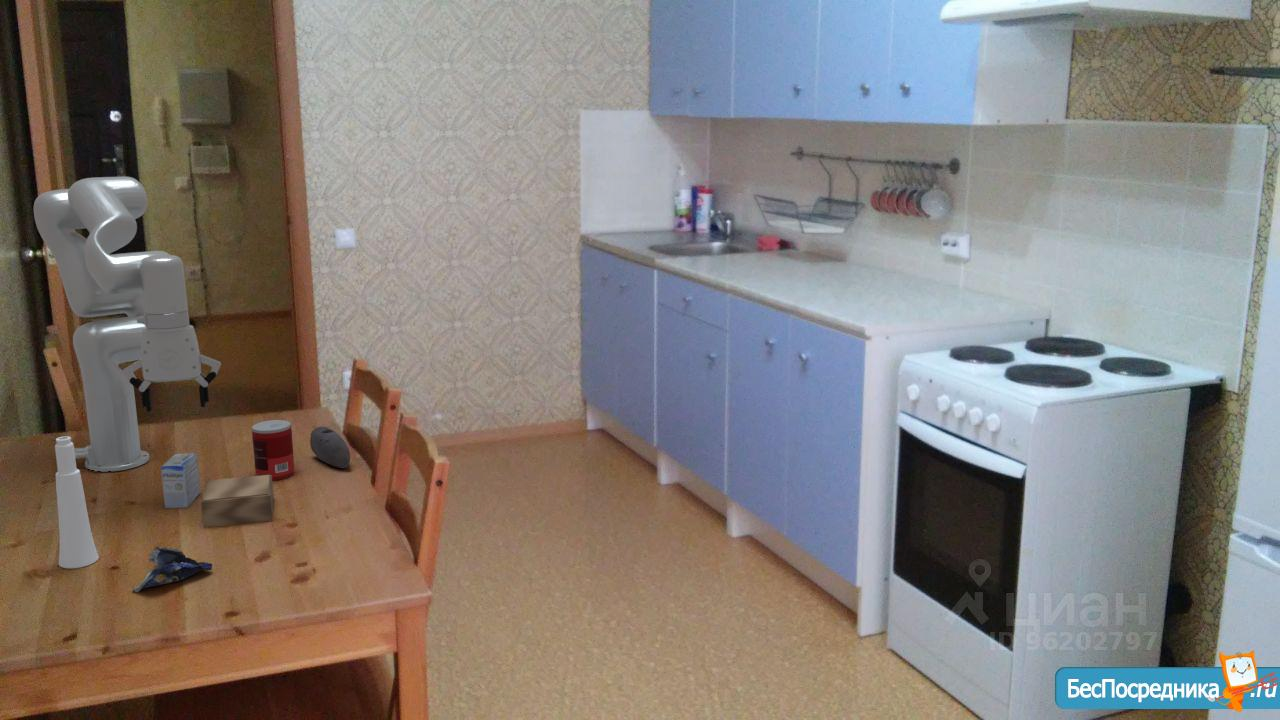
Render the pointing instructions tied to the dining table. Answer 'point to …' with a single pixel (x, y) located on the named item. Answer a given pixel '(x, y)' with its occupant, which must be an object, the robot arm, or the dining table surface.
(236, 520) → the block
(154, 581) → the snack package
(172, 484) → the medicine box
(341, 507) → the dining table surface
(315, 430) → the perforated stone tool
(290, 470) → the canned food
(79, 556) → the cosmetic bottle
